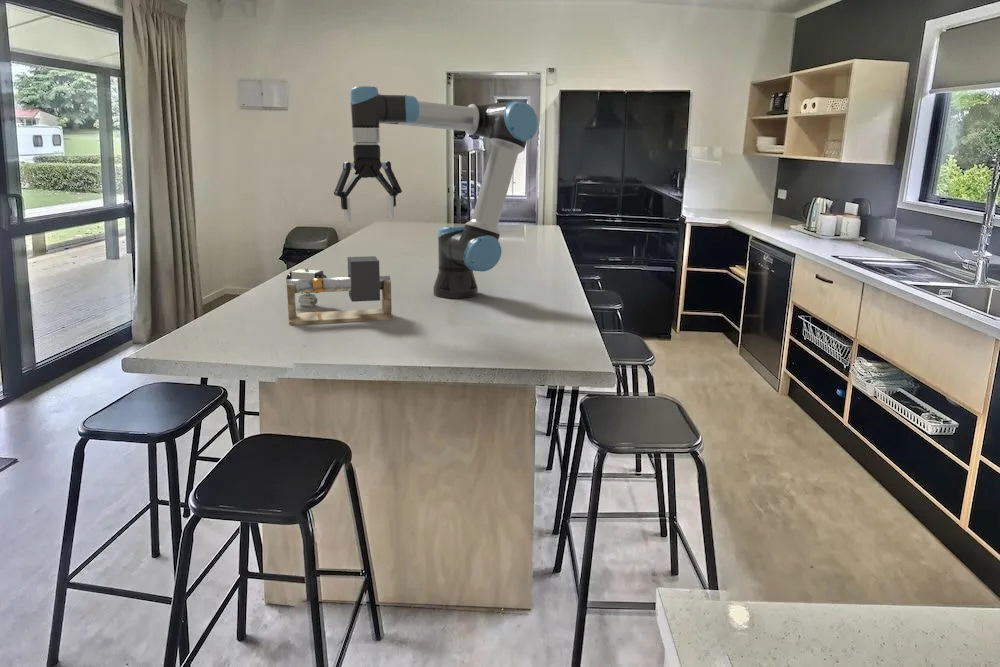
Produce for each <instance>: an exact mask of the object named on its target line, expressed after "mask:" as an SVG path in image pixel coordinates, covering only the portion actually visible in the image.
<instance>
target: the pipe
mask: <svg viewBox="0 0 1000 667" xmlns="http://www.w3.org/2000/svg"><path fill="white" fill-rule="evenodd" d="M285 280H286V281H287V283H286V285H287V284H294V287H295V294H301V293H303V294H306V293H310V294H314V293H313V292H319V293H326V292H327V293H331V292H333V293H334V292H335V293H336V292H349V291H351V277H348V276H347V277H346V276H344V277H327V278H311V279H286V278H285ZM384 280H391V275H380V291H382V290H383V289H384Z"/></svg>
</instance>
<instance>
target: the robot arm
mask: <svg viewBox="0 0 1000 667" xmlns="http://www.w3.org/2000/svg"><path fill="white" fill-rule="evenodd" d="M349 105H350V109H351V110H350V111H351V113H350V114H351V125H352V126H351V128H352V130H351V131H352V132H351V133H352V143H354V145H353V146H352V147H353V148H352V151H353V155H352V156H353V161H352V162H350V161H344V162H343V163H342V171H341V174H340V177H339V179H338V182H337V184H336V186H335V189H334V191H333V195H334V196H336V197H339V199H340V208H341V209H342V210H343V211H344V221H345V222H352V209H351V198H350V197H349V195H350V194H351V192H352V191H353V189H354V188H355V186H356V185H357V184H358V182H359V181H360V180H361V179H362V178H363V179H367V178H371V179H372V178H373V179H374V178H375V179H376V180H377V181H378V182H379V184H380V185H381V186H382V188H384V189H385V191H386V192H387V193H388V195H386V208H387V209H386V211H387V218H388V219H393V220H394V219H395V207H396V205H397V200H396V199H397V196H398V194H401V193H402V192H403V191H402V188H401V186H400V184H399V182H398V180H397V178H396V176H395V173H394V172H393V169H392V163H391V162H390V161H388V160H384V161H383V162H382V161H381V146H380V144H379V143H381V138H380V137H381V136H380V135H381V134H380V124H386V125H387V124H388V125H399V126H409V127H420V128H431V129H439V130H440V129H442V130H452V131H462V132H466V134H468V135H470V136H477V137H483V138H488V141H489V142H490V145H491V148H490V152H489V153H490V154H489V156H488V161H487V162H486V168H485V171H484V175H483V178H482V181H481V185H480V188H479V193H478V196H477V197H476V198H477V199H476V203H475V206H474V210H473V213H472V217H471V219H470V220H469V221H467V222H465V224H464V225H463V226H444V227H440V228H439V229H438V237H437V241H438V243H437V244H438V246H437V247H438V248H437V249H438V272H437V274H436V278H435V281H434V283H433V284H434V285H433V295H434V296H436V297H439V298H447V299H467V298H472V297H473V298H474V297H476V296H477V295H478V294H479V292H478V291H479V288H478V283H477V281H476V277H475V274H474V271H475V272H487V271H490V270H492V269H493V268H494V267H496V266H497V264H498V263H499V261H500V260H501V257H502V247H501V243H500V242H499V240H500V237H501V233H500V231H499V228H498V225H499V223H500V218H501V215H502V212H503V208H504V205H505V201H506V197H507V194H508V191H509V187H510V183H511V181H512V177H513V174H514V171H515V167H516V166H515V165H516V163H517V159H518V155H519V154H520V153H523V152H524V151H525V148H526V146H527V142H528V141H529V140H531V139H532V138H534V136H535V135H536V133H537V132H538V128H539V120H538V114H536V112H535V109H534V108H533V107H532V106H531V105H530V104H528V103H527V102H524V101H517V100H513V101H508V102H507V101H506V102H494V103H488V104H486V103H485V104H476V103H471V104H469V105H468V106H463V105H454V104H445V103H437V102H426V101H420V100H418V99H417V97H415V96H414V95H406V94H381V93H380V94H379V91H378V87H376V86H370V85H368V86H367V85H363V86H362V85H356V86H353V87H352V88H351V89H350V104H349ZM353 169H354V170H355V172H354V173H353V174H352V175H351V178H350V180H349V181H348V178H349V176H350V173H351V171H352V170H353ZM381 169H383V171H384V173H385V174H386V177H387V179H388V180H387V179H386V178H385V177H384V174H383V173H382V172H381V171H380V170H381ZM347 181H348V182H347ZM388 181H389V182H388Z"/></svg>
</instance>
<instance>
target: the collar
mask: <svg viewBox="0 0 1000 667" xmlns="http://www.w3.org/2000/svg"><path fill="white" fill-rule="evenodd" d="M380 276H381V275H380V260H379V259H378V258H377V257H376V256H375V255H372V256H367V255H365V256H347V277H351V291H348V297H349V299H350V300H351V302H352V303H355V302H357V303H358V302H373V301H375V302H377V301H381V290H380Z"/></svg>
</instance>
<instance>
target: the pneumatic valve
mask: <svg viewBox="0 0 1000 667" xmlns="http://www.w3.org/2000/svg"><path fill="white" fill-rule="evenodd" d="M311 278H328V276H327V275H326V274H324V270H318V269H317V270H316V269H309V267H304V269H302V268H301V269H299V268H296V269H294V270H290V271H289V273H287V275H286V278H285V280H286V279H311ZM285 284H287V282H286V283H285ZM319 293H320V292H313V293H300V295H299V297H298V303H299V305H300V306H301V307H305V308H307V307H314V306H315V305H317V303H318V298H317V297H316V294H319Z"/></svg>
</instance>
